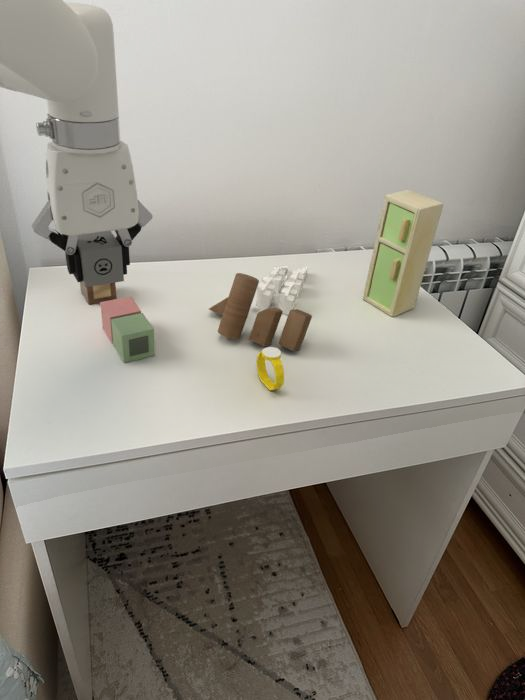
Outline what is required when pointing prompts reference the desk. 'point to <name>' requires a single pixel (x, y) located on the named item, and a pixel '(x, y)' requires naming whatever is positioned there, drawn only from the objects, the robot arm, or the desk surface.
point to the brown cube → (98, 292)
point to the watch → (274, 357)
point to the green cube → (133, 337)
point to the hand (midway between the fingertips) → (99, 272)
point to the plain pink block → (116, 312)
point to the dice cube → (100, 258)
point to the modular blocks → (276, 282)
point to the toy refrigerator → (401, 251)
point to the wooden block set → (258, 317)
